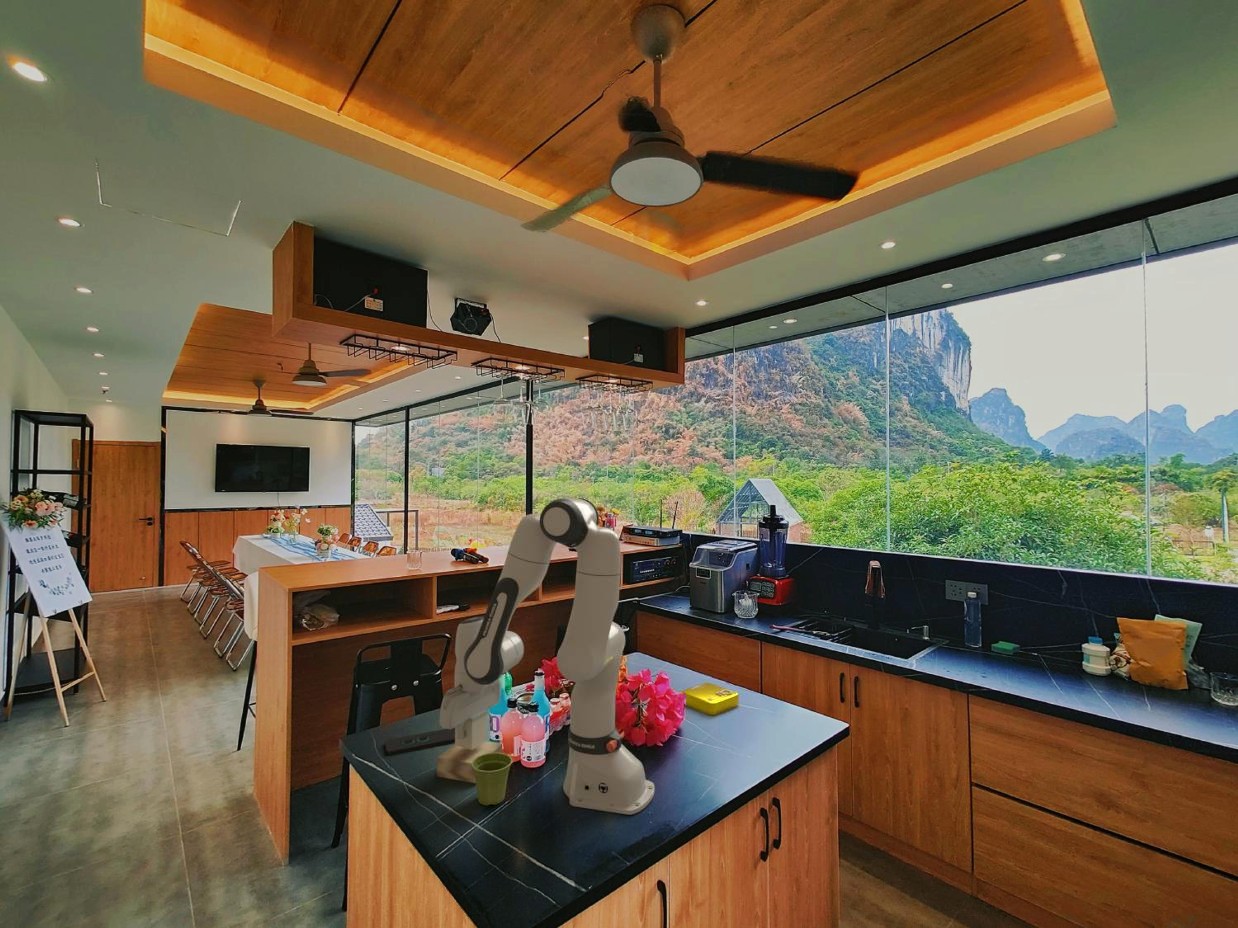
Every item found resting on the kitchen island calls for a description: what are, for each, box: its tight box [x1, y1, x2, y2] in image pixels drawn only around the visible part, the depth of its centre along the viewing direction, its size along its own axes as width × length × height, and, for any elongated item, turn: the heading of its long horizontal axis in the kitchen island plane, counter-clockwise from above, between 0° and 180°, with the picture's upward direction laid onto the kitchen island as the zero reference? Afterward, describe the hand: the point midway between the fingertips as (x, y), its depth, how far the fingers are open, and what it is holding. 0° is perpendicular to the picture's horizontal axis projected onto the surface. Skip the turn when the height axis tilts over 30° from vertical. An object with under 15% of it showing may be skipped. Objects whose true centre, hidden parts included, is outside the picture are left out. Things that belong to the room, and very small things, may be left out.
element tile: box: [681, 682, 740, 716], centre depth 190 cm, size 15×15×5 cm
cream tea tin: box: [454, 709, 489, 750], centre depth 146 cm, size 6×6×8 cm
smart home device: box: [384, 728, 455, 756], centre depth 160 cm, size 8×2×20 cm
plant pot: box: [472, 752, 513, 806], centre depth 132 cm, size 9×9×9 cm
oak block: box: [436, 740, 503, 784], centre depth 146 cm, size 12×12×5 cm
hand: (470, 732), depth 146 cm, fingers closed on cream tea tin, 6 cm apart
